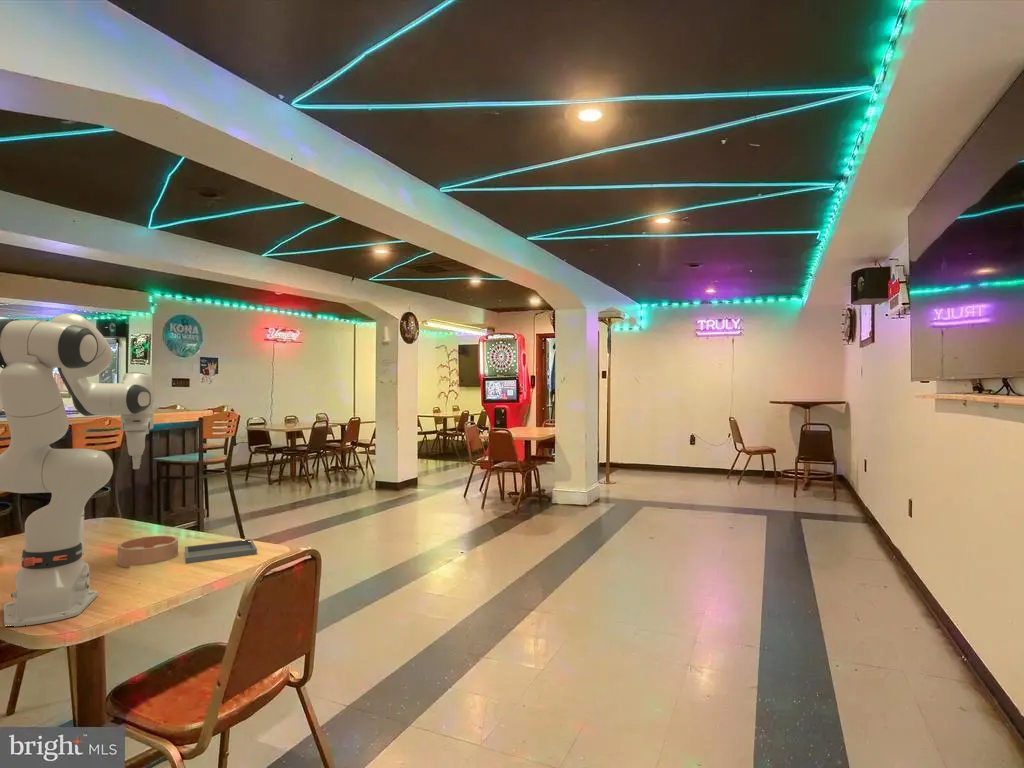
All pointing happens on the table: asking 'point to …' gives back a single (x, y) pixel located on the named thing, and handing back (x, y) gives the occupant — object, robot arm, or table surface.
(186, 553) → the parts tray
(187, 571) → the table surface
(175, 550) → the terracotta bowl
